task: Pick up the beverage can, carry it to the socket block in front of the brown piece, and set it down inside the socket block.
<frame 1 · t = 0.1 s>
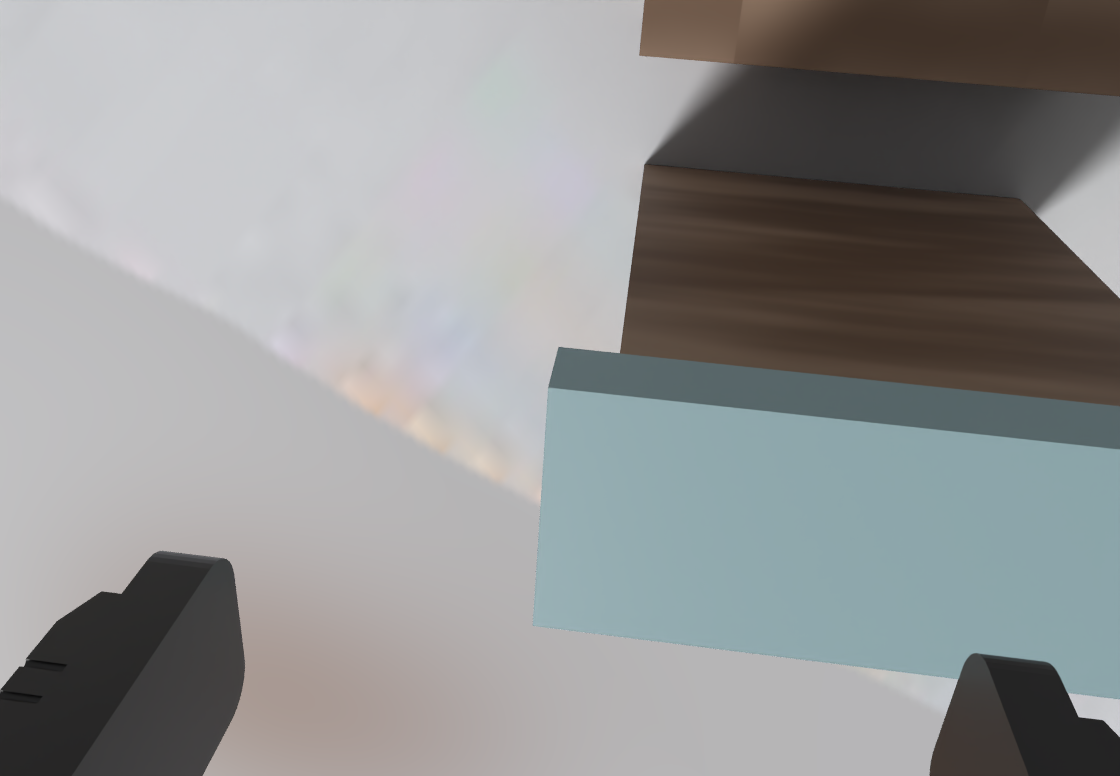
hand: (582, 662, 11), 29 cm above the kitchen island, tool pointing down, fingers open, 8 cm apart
brown piece: (825, 201, 37), on the kitchen island
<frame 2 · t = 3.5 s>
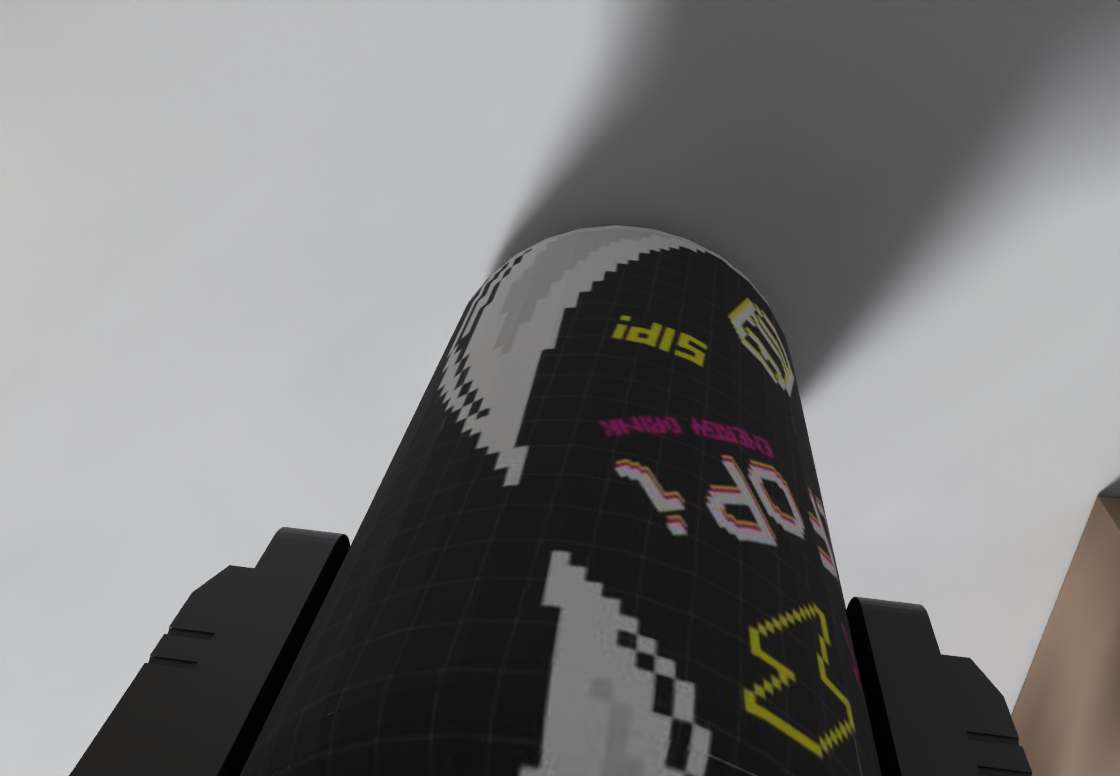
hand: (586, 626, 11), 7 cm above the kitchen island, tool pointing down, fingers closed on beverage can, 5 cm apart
beverage can: (620, 363, 17), on the kitchen island, touching gripper
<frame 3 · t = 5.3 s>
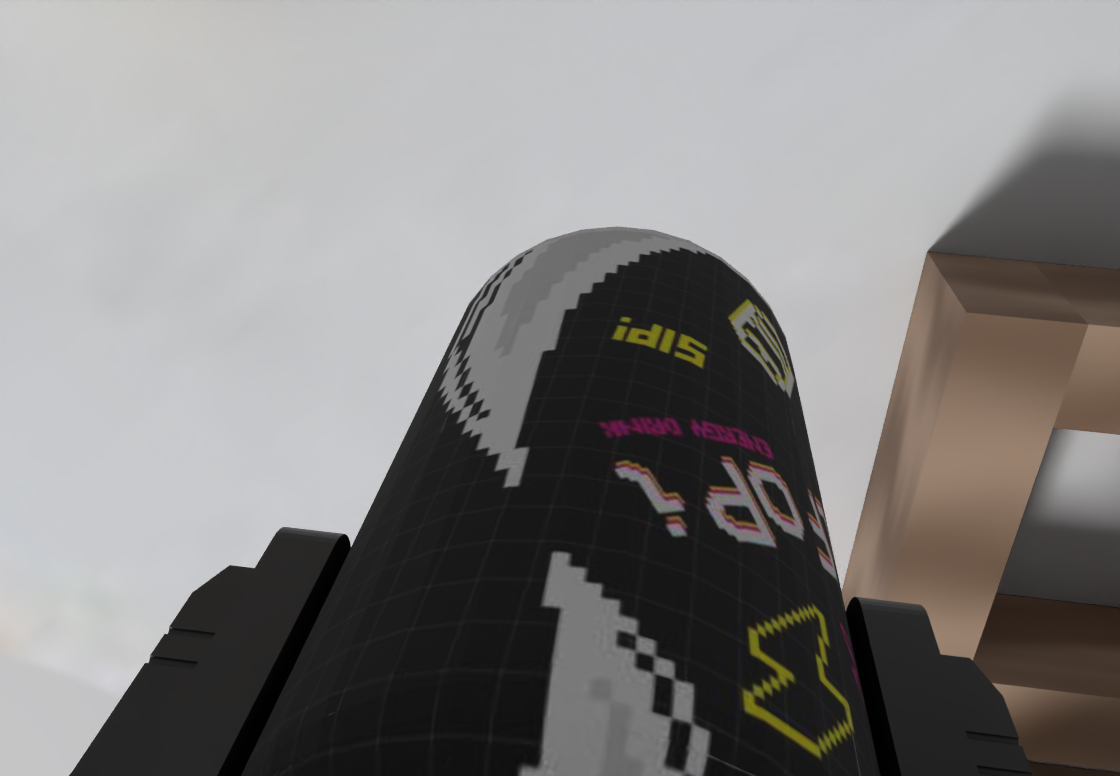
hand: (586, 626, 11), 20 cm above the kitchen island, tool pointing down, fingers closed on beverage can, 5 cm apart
brown piece: (998, 773, 38), on the kitchen island
beverage can: (621, 364, 17), point 13 cm above the kitchen island, touching gripper
socket block: (1107, 493, 32), on the kitchen island
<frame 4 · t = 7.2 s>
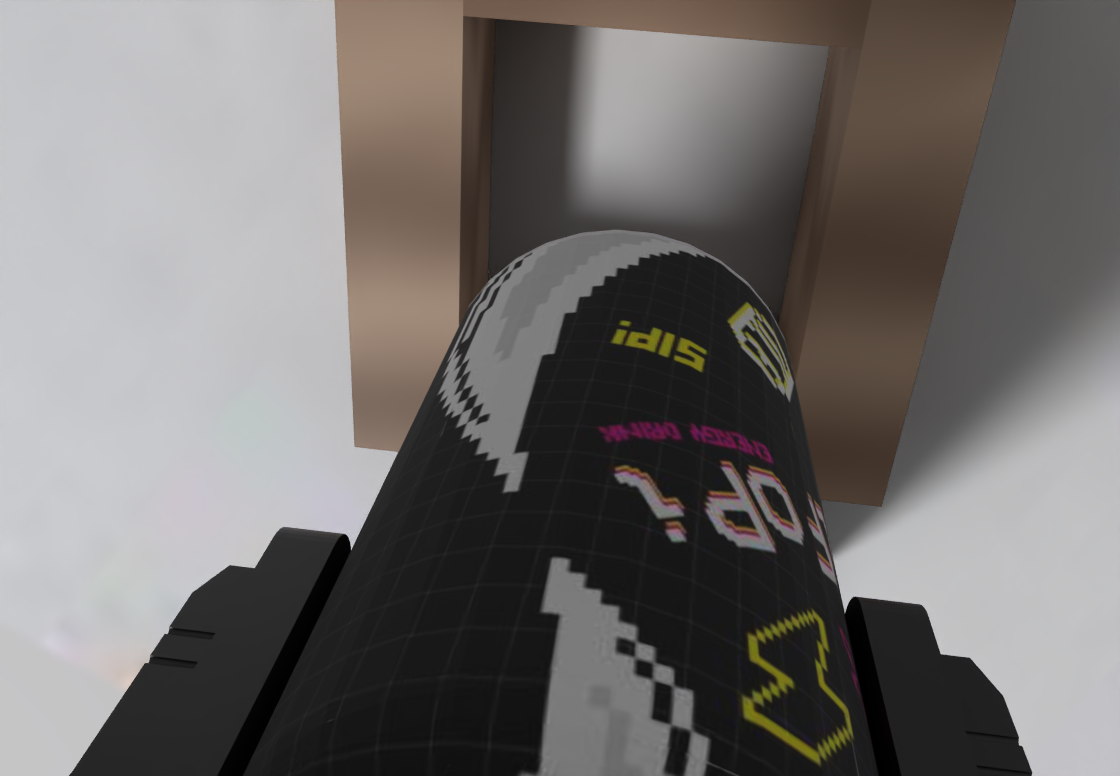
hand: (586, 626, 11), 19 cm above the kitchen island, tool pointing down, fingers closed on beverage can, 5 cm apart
beverage can: (621, 366, 17), point 13 cm above the kitchen island, touching gripper
socket block: (645, 172, 28), on the kitchen island
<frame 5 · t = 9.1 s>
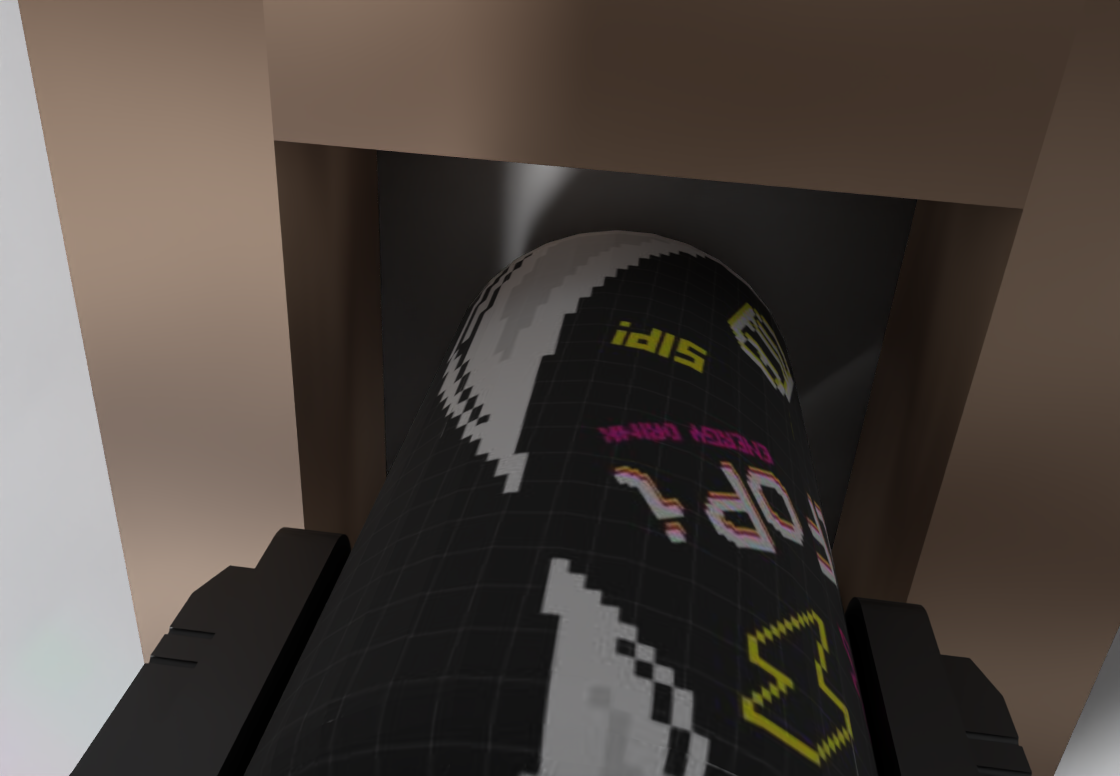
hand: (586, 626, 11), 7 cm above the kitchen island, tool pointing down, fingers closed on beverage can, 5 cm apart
beverage can: (621, 367, 17), point 1 cm above the kitchen island, touching gripper
socket block: (624, 346, 18), on the kitchen island
when the fingers open (7 cm above the kitchen island, at t = 10.7 s): beverage can stays where it is, resting in socket block.
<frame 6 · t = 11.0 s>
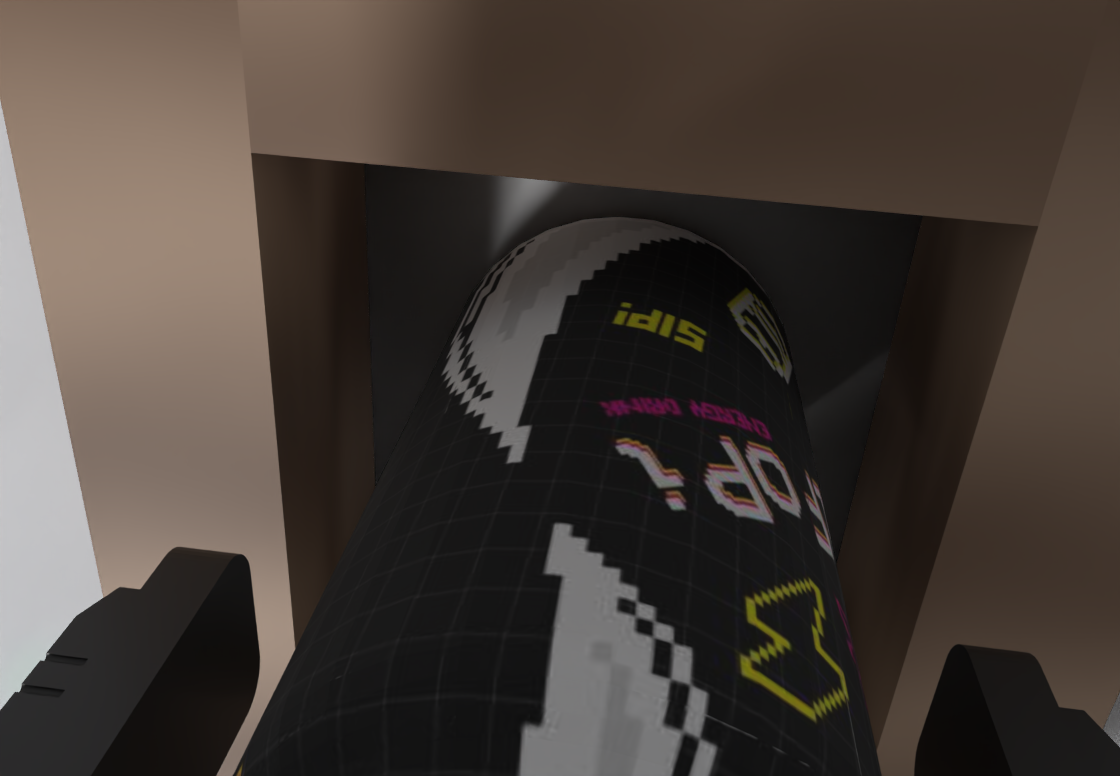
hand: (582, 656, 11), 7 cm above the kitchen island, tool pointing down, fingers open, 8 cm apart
beverage can: (621, 354, 17), resting in socket block
socket block: (620, 362, 17), on the kitchen island
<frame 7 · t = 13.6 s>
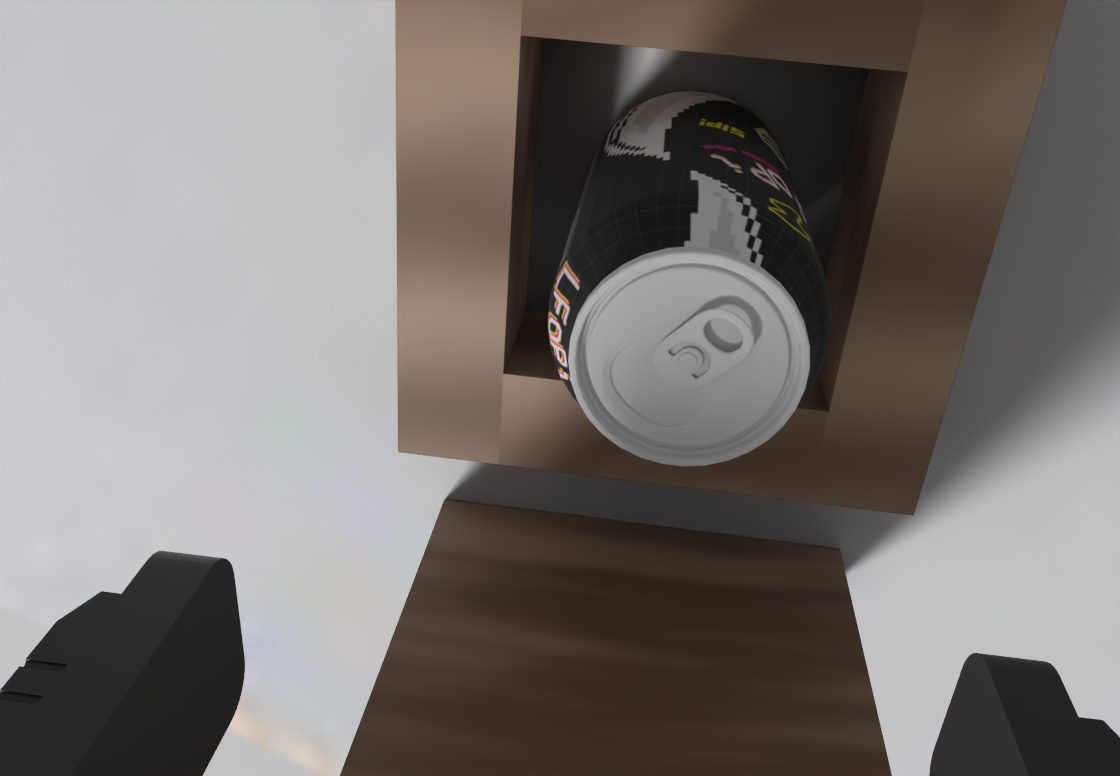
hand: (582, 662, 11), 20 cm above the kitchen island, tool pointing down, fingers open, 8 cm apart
brown piece: (637, 542, 35), on the kitchen island
beverage can: (686, 183, 29), resting in socket block
socket block: (685, 187, 29), on the kitchen island
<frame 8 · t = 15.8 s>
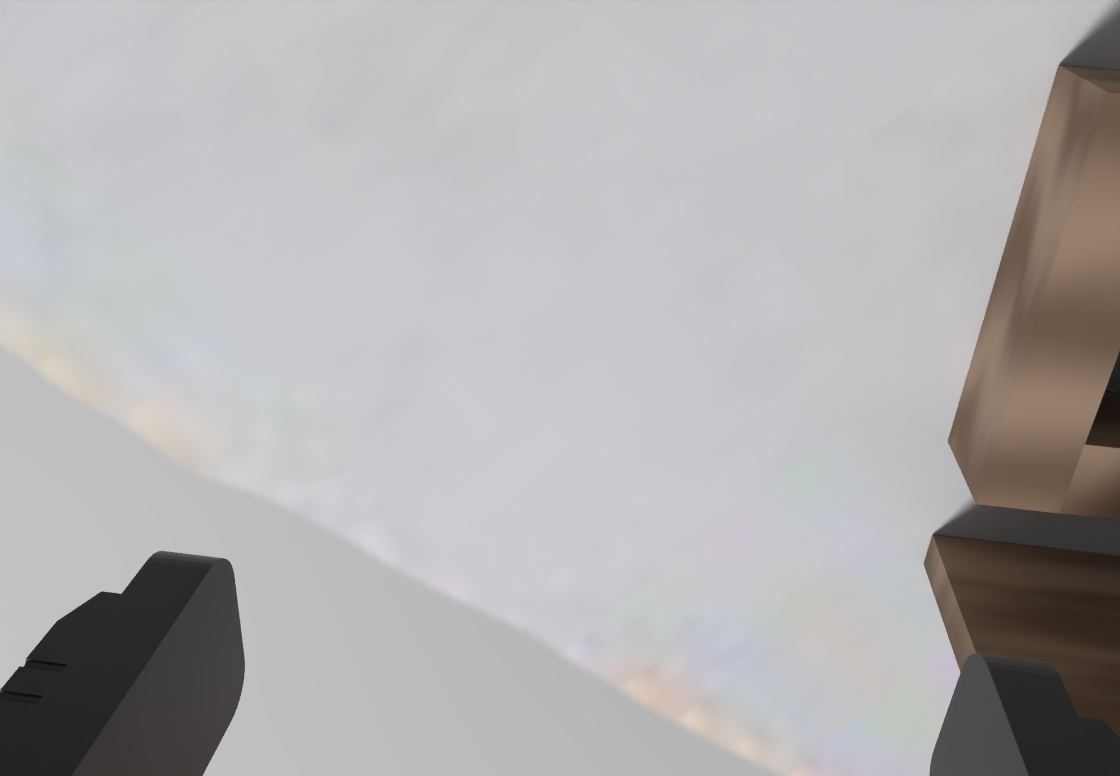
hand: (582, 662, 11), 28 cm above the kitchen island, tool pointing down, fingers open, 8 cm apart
brown piece: (1092, 568, 43), on the kitchen island
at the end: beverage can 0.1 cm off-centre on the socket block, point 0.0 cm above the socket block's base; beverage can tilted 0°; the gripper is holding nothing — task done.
